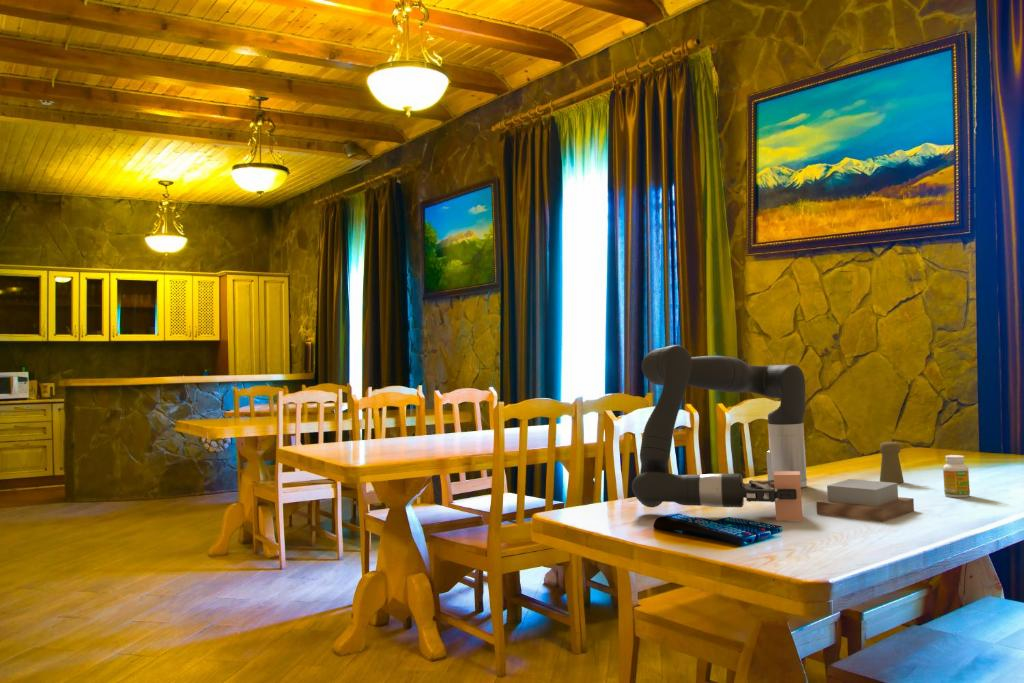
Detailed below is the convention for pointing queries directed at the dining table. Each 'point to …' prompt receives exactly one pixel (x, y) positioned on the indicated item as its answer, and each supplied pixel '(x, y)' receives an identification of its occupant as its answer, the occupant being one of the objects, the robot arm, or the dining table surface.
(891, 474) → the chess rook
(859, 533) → the dining table surface
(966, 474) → the supplement bottle
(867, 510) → the walnut base block
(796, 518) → the terracotta block
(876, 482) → the slate top block
